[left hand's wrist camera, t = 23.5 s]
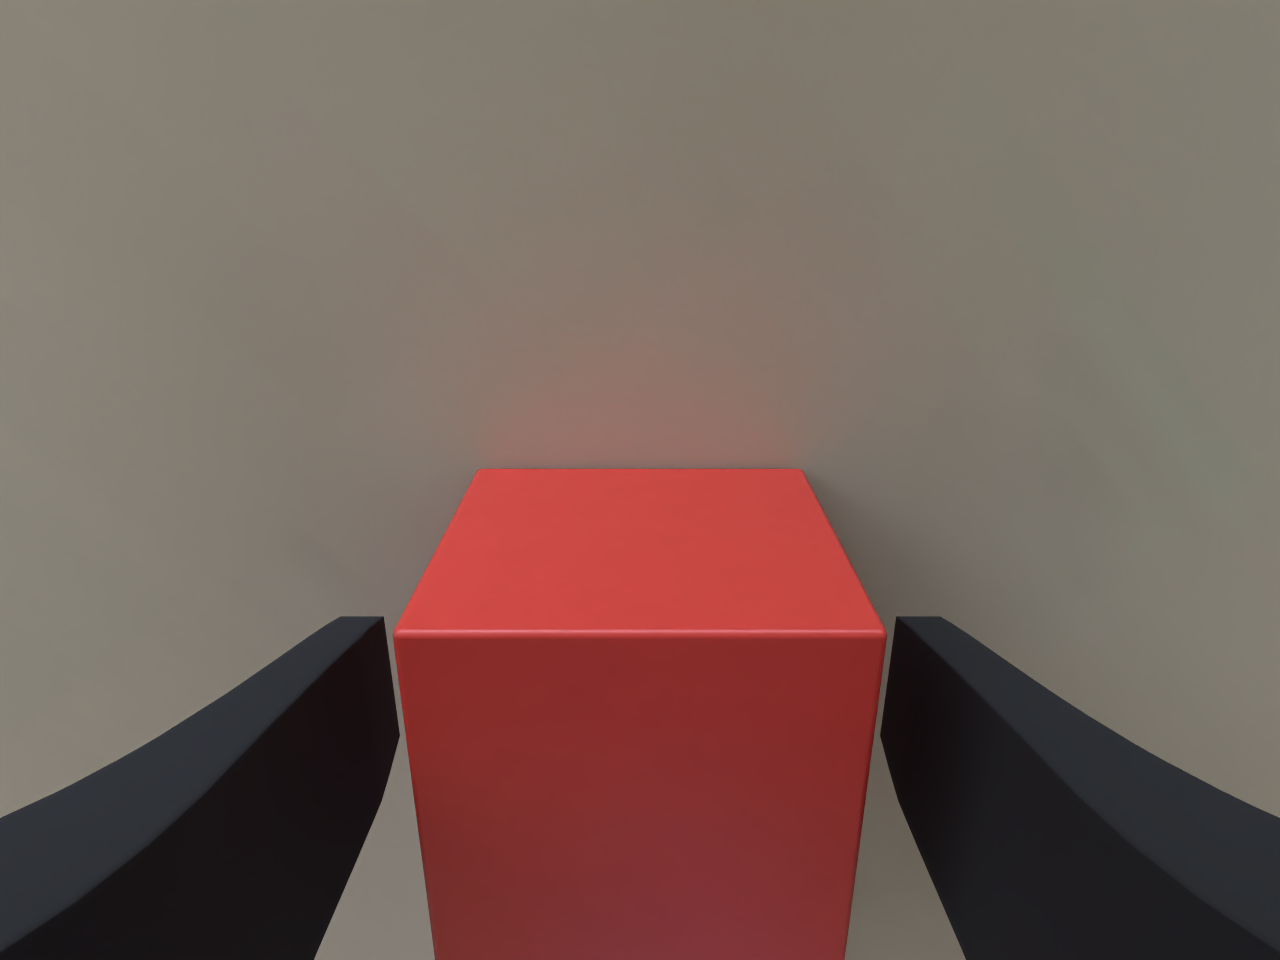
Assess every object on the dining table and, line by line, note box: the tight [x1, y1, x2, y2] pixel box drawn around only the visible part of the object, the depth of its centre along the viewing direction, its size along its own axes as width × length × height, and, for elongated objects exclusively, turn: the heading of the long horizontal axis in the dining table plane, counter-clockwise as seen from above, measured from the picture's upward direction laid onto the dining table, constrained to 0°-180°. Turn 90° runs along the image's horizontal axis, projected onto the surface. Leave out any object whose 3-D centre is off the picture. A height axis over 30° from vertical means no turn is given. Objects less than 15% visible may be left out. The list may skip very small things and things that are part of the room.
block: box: [393, 469, 887, 960], centre depth 11 cm, size 5×5×4 cm
